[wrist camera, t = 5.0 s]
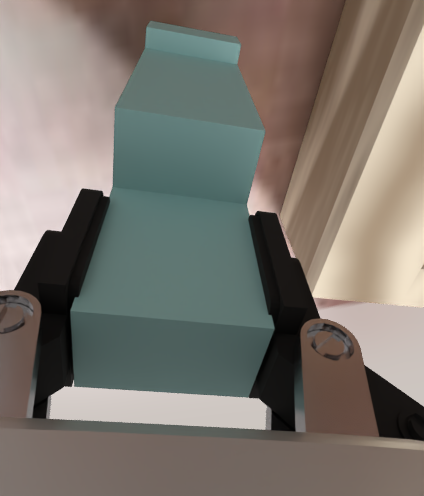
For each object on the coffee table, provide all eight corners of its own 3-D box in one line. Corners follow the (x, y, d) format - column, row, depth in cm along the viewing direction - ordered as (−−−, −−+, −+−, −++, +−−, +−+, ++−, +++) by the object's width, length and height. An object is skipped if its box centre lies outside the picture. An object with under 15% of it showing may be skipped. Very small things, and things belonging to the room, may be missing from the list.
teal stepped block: (236, 36, 18) (326, 194, 6) (206, 197, 23) (223, 460, 11) (150, 20, 18) (62, 158, 6) (138, 188, 23) (77, 454, 11)
